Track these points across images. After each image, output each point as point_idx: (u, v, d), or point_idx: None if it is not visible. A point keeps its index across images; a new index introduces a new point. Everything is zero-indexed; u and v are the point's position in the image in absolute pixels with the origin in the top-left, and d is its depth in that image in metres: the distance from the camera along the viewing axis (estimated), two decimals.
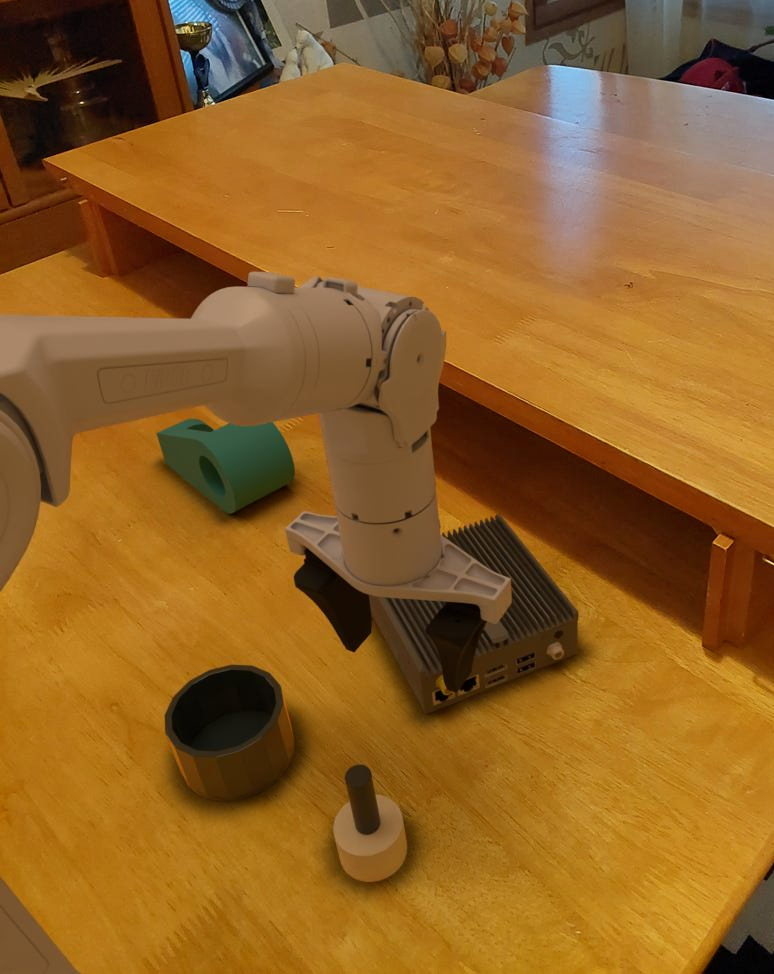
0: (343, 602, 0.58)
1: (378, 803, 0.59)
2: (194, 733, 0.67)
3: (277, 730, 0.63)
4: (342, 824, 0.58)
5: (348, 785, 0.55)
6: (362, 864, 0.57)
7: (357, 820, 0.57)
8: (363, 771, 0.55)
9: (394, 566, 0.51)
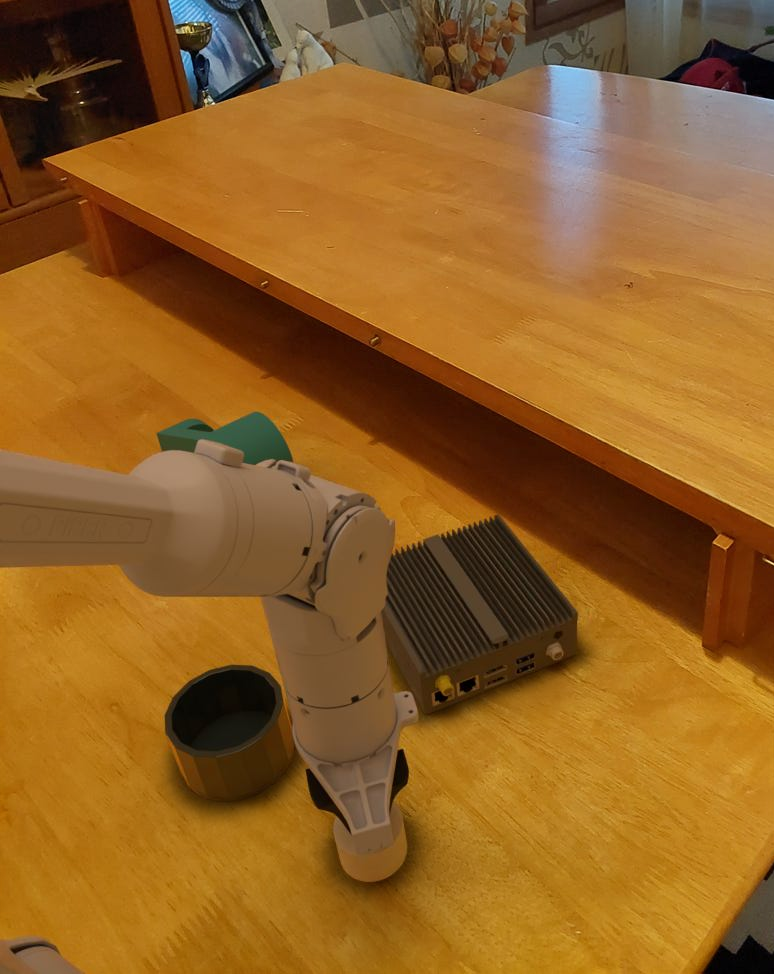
0: None
1: None
2: (194, 733, 0.67)
3: (277, 730, 0.63)
4: (342, 824, 0.58)
5: None
6: (362, 863, 0.57)
7: None
8: None
9: (306, 738, 0.50)
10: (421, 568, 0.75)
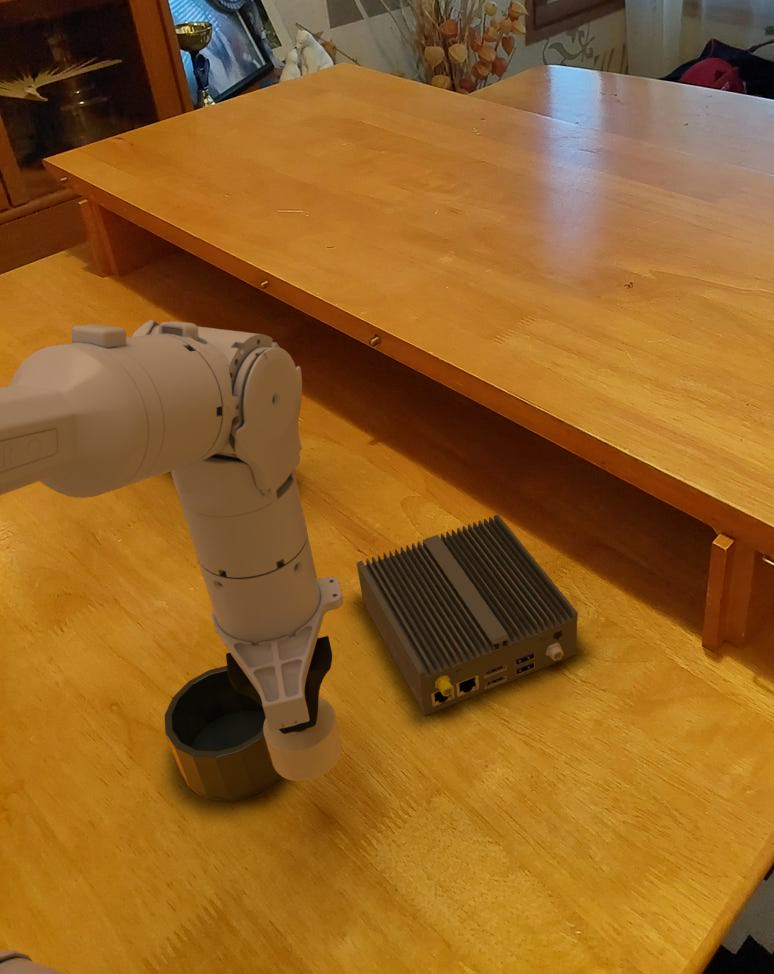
0: None
1: None
2: (194, 733, 0.67)
3: None
4: None
5: None
6: (291, 760, 0.56)
7: None
8: None
9: (222, 615, 0.48)
10: (421, 568, 0.75)
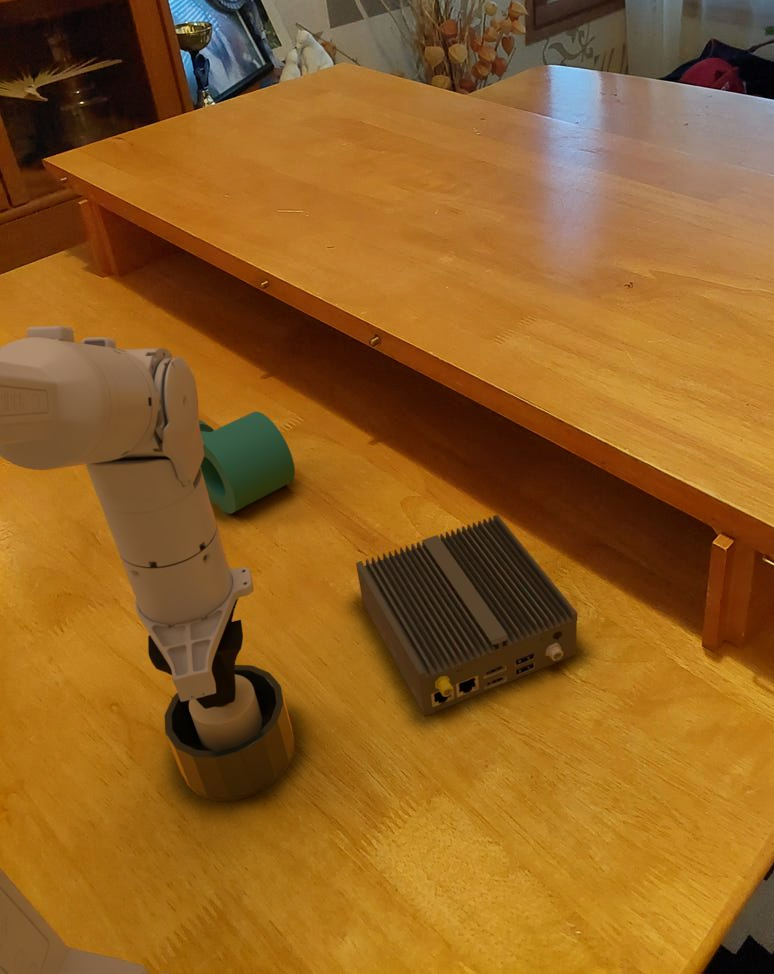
0: None
1: None
2: (194, 733, 0.67)
3: (277, 730, 0.63)
4: None
5: None
6: (213, 732, 0.62)
7: None
8: None
9: (141, 601, 0.54)
10: (420, 569, 0.75)
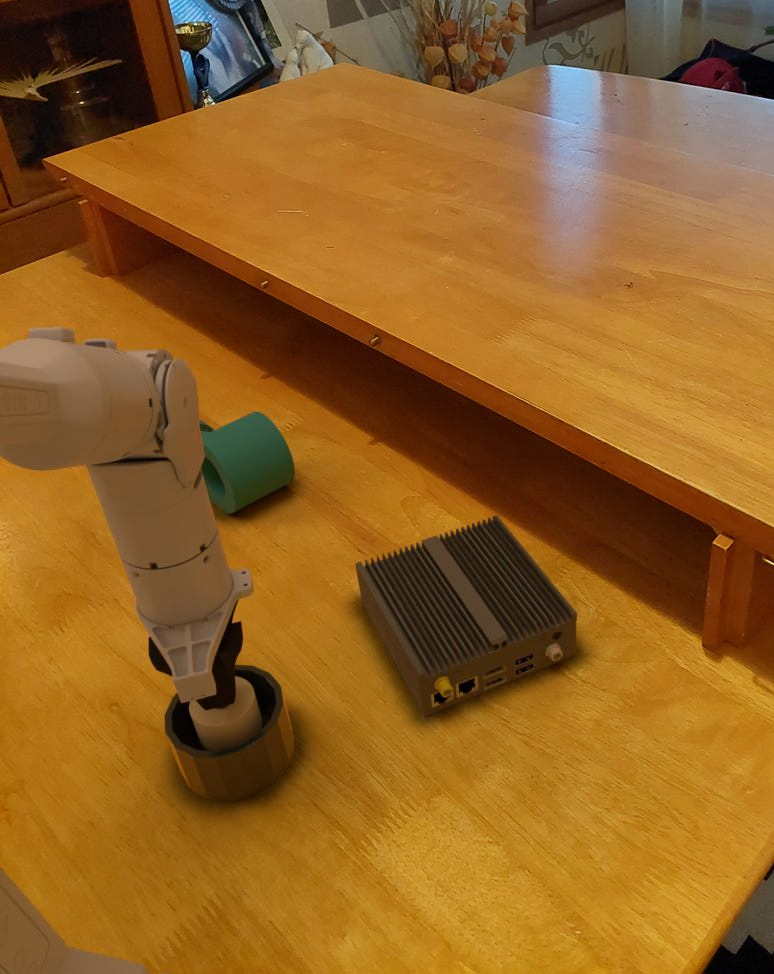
0: None
1: None
2: (194, 733, 0.67)
3: (277, 730, 0.63)
4: None
5: None
6: (213, 734, 0.62)
7: None
8: None
9: (142, 602, 0.55)
10: (420, 569, 0.75)
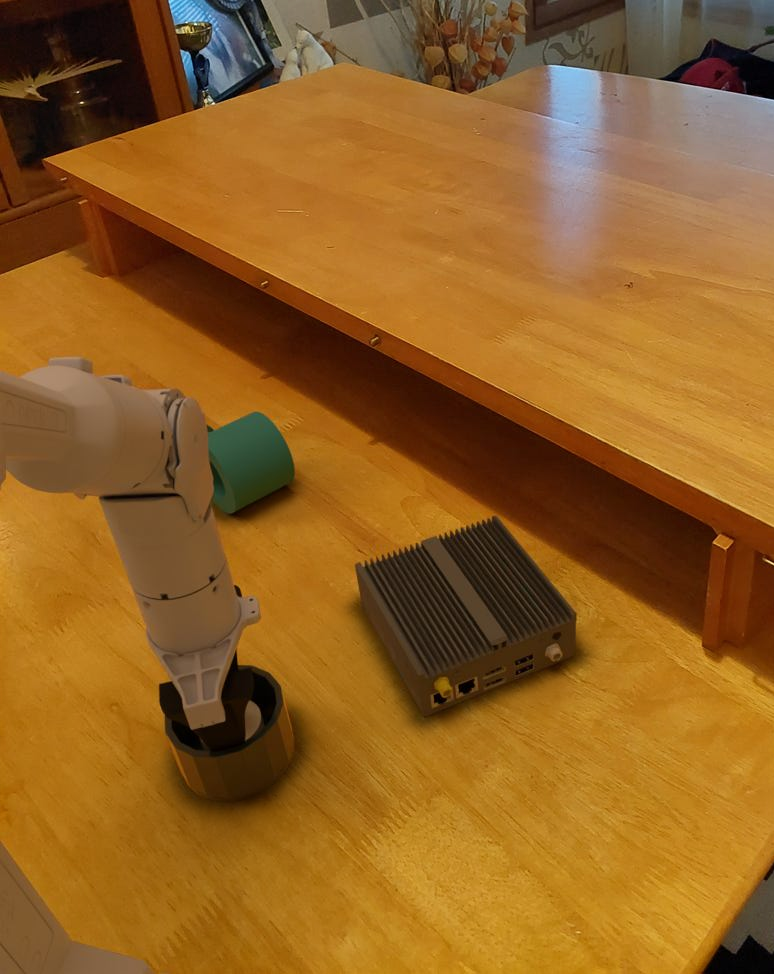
0: None
1: None
2: (194, 733, 0.67)
3: (277, 730, 0.63)
4: None
5: None
6: None
7: None
8: None
9: (152, 630, 0.56)
10: (419, 570, 0.74)
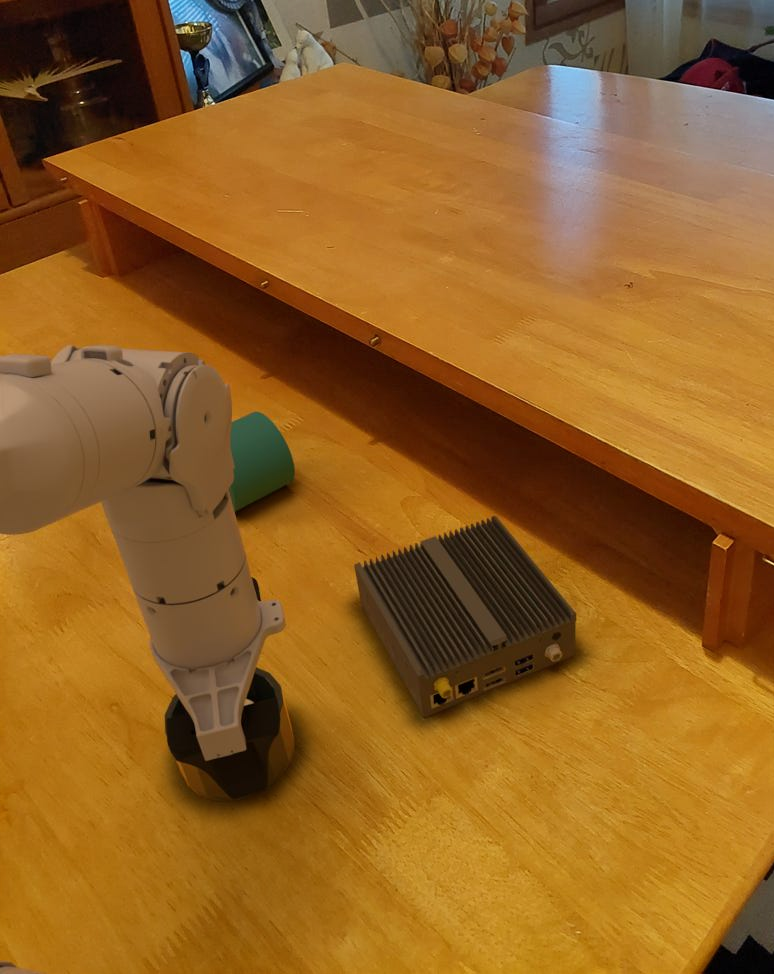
0: None
1: None
2: None
3: None
4: None
5: None
6: None
7: None
8: None
9: (158, 642, 0.47)
10: (419, 570, 0.74)
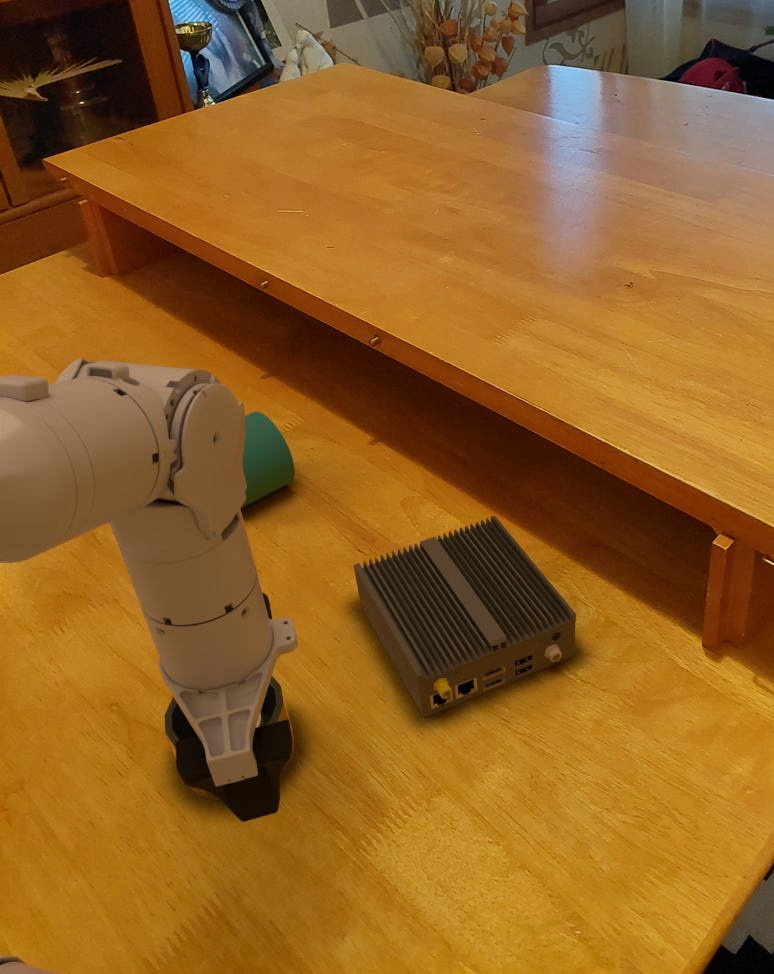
0: None
1: None
2: (194, 733, 0.67)
3: None
4: None
5: None
6: None
7: None
8: None
9: (167, 662, 0.46)
10: (418, 570, 0.74)
